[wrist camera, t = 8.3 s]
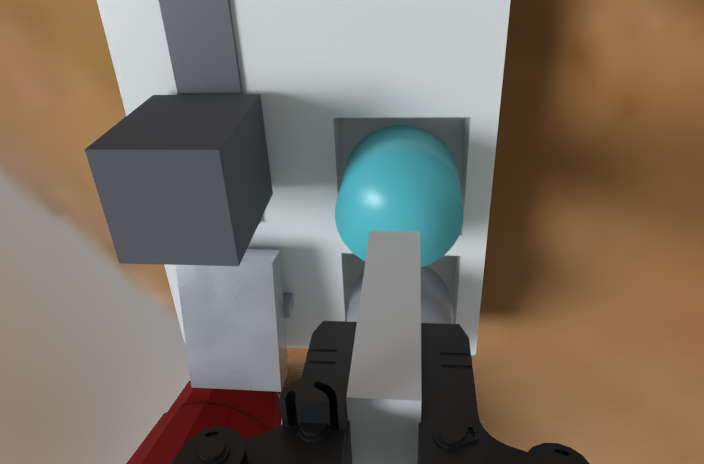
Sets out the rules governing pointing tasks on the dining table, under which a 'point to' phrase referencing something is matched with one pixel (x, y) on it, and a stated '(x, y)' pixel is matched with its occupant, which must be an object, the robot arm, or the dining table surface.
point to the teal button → (400, 191)
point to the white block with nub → (235, 323)
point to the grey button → (432, 299)
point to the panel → (331, 115)
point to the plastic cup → (208, 419)
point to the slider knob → (184, 179)
